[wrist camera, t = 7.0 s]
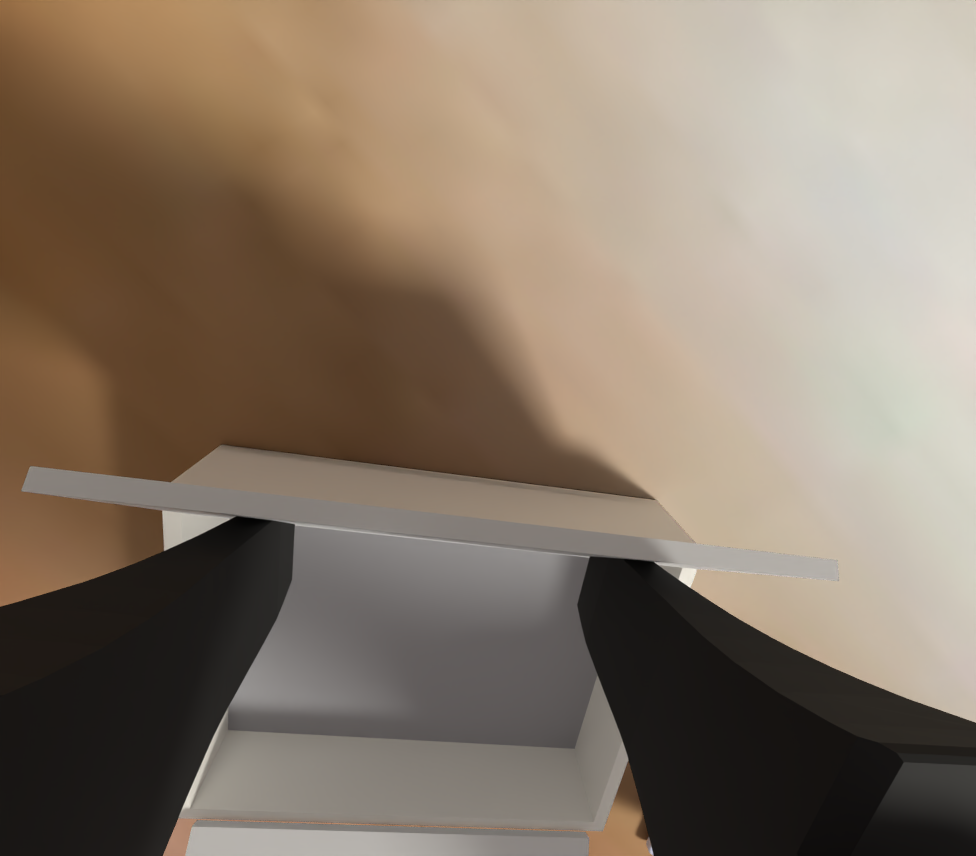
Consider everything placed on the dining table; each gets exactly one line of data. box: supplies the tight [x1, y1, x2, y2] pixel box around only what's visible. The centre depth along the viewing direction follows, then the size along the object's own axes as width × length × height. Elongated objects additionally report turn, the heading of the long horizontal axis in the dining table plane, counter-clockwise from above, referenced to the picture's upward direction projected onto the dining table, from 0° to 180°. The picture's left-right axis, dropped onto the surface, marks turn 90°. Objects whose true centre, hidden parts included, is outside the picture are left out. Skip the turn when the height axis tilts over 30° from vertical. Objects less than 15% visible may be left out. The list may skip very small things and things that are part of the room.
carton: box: [162, 445, 697, 831], centre depth 17 cm, size 16×13×4 cm
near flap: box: [21, 466, 839, 581], centre depth 11 cm, size 6×14×1 cm
